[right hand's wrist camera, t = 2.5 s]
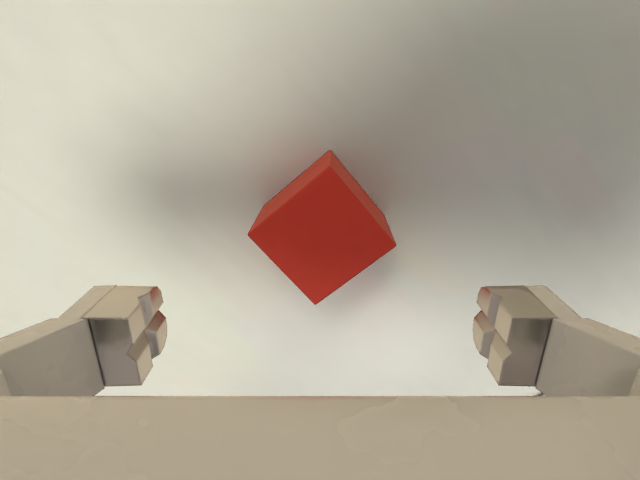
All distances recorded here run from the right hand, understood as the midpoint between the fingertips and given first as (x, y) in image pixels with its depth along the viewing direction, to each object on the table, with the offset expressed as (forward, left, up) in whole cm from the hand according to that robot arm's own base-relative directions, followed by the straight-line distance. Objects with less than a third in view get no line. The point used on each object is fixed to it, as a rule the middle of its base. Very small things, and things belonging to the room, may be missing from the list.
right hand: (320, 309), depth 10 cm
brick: (0, +1, -11) cm, 11 cm away
